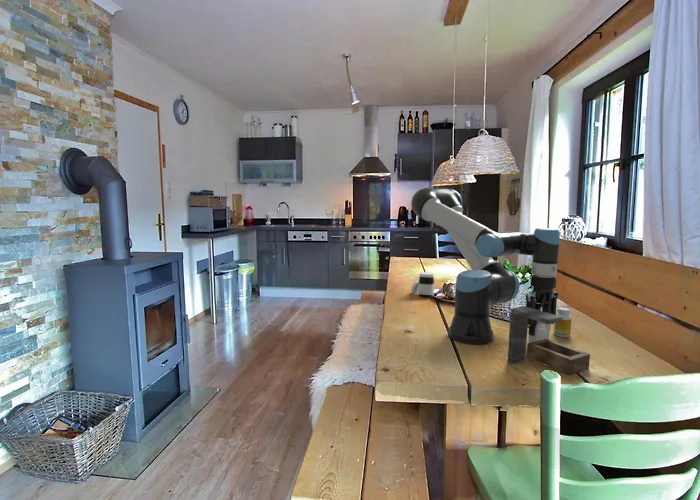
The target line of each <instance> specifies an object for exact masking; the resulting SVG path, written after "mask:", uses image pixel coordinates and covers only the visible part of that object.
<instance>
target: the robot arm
mask: <svg viewBox="0 0 700 500" xmlns="http://www.w3.org/2000/svg"><path fill="white" fill-rule="evenodd" d="M411 209H412V211H413V212H414V213H415V215H416V216H418V217H419V218H421V219H422V220H424V221H426V222H432V223H434V224H436V225H438V226H440V227H441V228H442V229H444V230H446V231H447V233H448V235H449V236H450V237H451V239H452V240H453V243H454V244H455V245H456V247H457V249H458V250H459V252H460V254H461V255H462V256H463V258H464V259H465V261H466V263H467V264H468V266H469V267H470V269H469V270H464V271H461V272H459V273H458V274H457V276H456V281H455V293H454V295H455V296H454V297H455V298H454V299H455V300H454V315H453V317H452V320H451V323H450V326H449V328H448V337H449V338H451V339H452V340H453V341H456V342H459V343H464V344H467V345H468V344H469V345H487V344H491V343H492V342H493V341H494V331H493V330H492V325H491V321H490V309H491V308H490V307H491V306H494V305H498V304H499V305H501V304H506V303H508V302H510V301H512V300H514V299H515V298H516V297H517V296H518V294H519V292H520V288H521V287H520V286H521V285H520V281H519V280H520V279H519V277H518V276H517V275H516V273H515V272H513V271H511V270H509V269H505V267H504V266H503V264H502V263H501V262H500V261H499V260H494V259H493V258H496V257H504V256H512V255H524V256H530V257H532V262H531V271H530V273H531V275H530V286H531V287H532V291H531V293H530V294H526V295H525V302H526V303H525V304H526V305H525V306H526V307H529V308H532V309H536V310H539V311H543V312H546V313H550V314H553V315H556V314H557V303H558V296H559V292H556V291H554V289H555V288H557V279H558V277H556V276H557V275H558V263H559V261H558V260H559V250H560V244H561V242H560V239H561V238H560V237H561V235H560V234H561V233H560V230H558V228H557V229H556V228H549V227H548V228H545V227H538V228H537V227H536V228H535V229H534V232H533V233H529V232H519V231H513V230H512V231H503V233H500V232H496V231H494V230H492V229H491V228H489V227H487V226H485V225H483V224H481V223H479V222H477V221H475V220H474V219H471V218H470V217H468V216H466V215H464V214H463V212H464V208H463V198H462V196H461V194H460V193H459V192H458V191H457V190H455V189H453V188H447V187H442V188H436V187H435V188H434V187H424V188H421V189H419V190H417V191H416V192H414V194H413V195H412V198H411ZM537 322H538V321H536V320H533V319H529V318H528V342H527V343H531V342H535V341H537V339H538V326H537ZM551 325H554V323H551V324H545V327H546V329H547V338H546V339H548V340H550V331H551Z"/></svg>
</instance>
